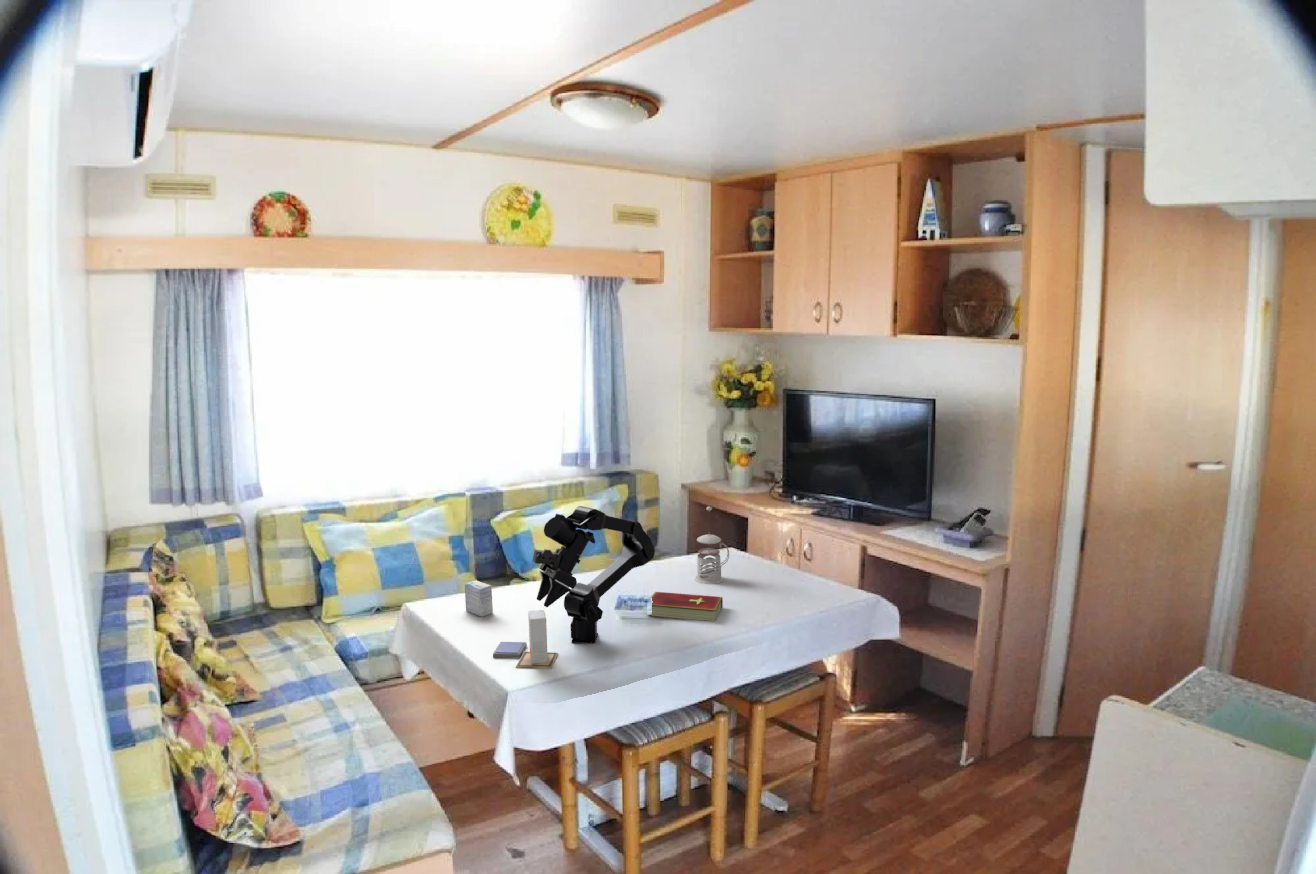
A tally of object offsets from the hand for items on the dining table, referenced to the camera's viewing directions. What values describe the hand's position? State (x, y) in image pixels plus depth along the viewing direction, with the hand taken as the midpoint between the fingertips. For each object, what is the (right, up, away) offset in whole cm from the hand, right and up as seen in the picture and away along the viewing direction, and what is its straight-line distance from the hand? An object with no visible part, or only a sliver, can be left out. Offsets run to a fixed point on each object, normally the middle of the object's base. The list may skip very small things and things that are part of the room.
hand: (541, 603), depth 221 cm
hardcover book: (+38, -9, +30) cm, 50 cm away
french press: (+48, -4, +60) cm, 77 cm away
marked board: (0, -14, -5) cm, 15 cm away
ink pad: (-9, -13, +1) cm, 16 cm away
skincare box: (0, -13, -5) cm, 14 cm away
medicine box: (-23, -9, +31) cm, 39 cm away
